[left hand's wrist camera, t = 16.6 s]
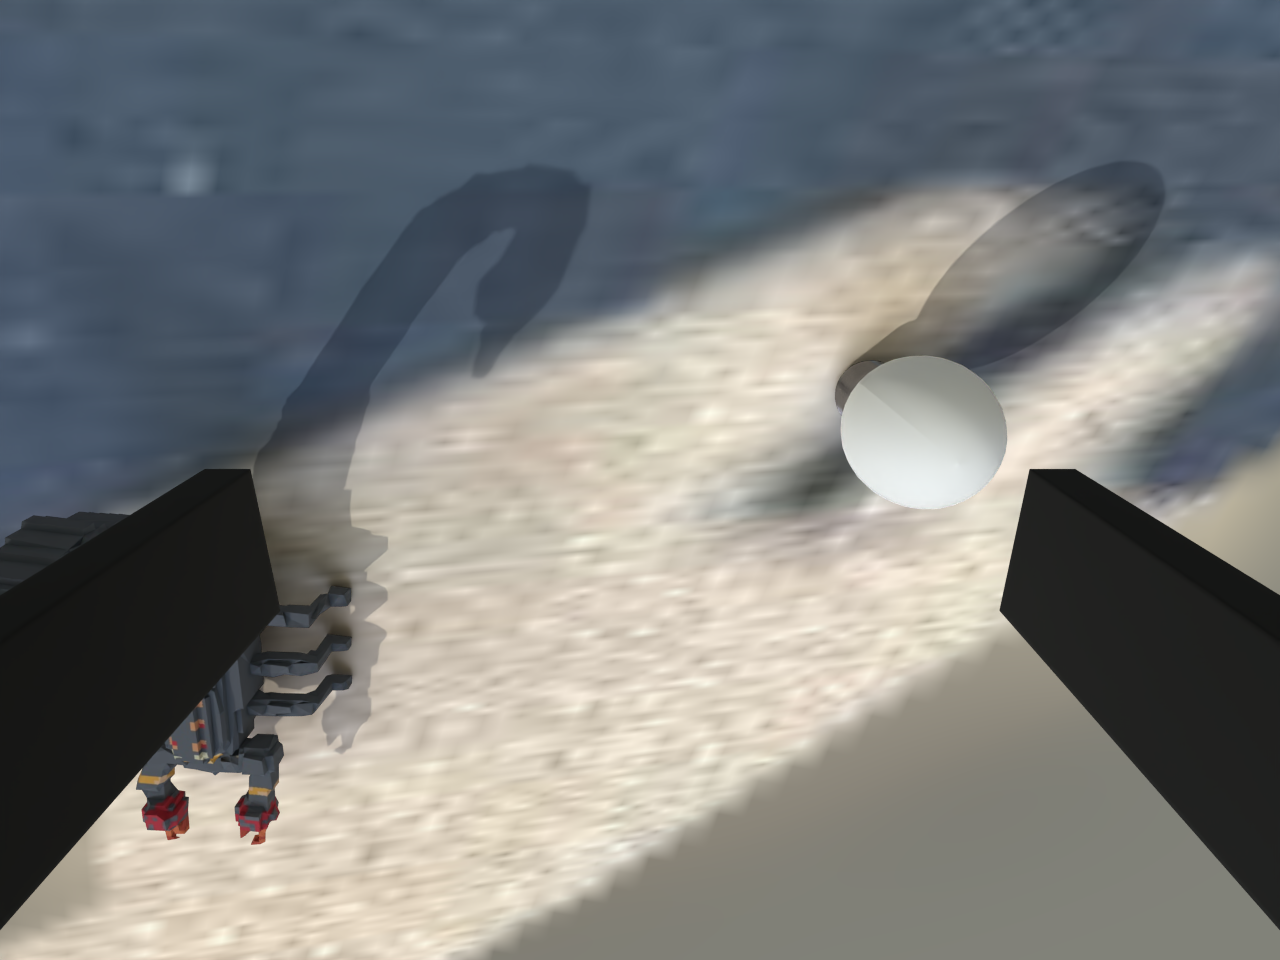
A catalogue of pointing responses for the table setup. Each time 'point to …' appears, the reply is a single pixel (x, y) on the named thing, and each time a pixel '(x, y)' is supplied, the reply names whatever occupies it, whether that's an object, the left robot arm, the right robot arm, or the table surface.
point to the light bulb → (920, 430)
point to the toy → (227, 709)
